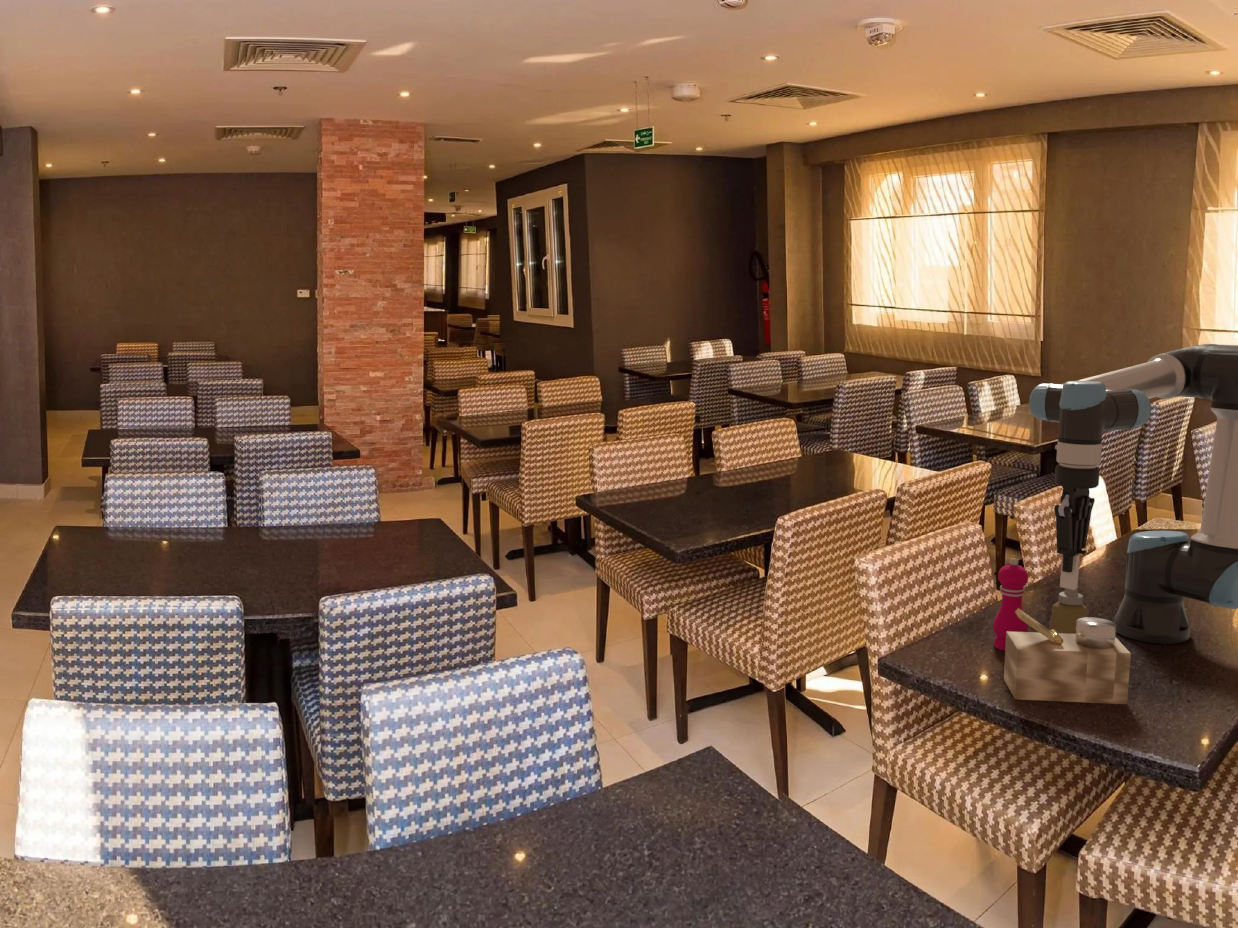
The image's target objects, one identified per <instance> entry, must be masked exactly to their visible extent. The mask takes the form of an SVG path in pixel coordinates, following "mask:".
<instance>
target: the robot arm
mask: <svg viewBox="0 0 1238 928" xmlns="http://www.w3.org/2000/svg"><path fill="white" fill-rule="evenodd" d="M1176 397H1181V398H1182V397H1183V398H1195V399H1203V400H1204V399H1205V400H1210V407H1209V408H1210V410H1211V412H1213V414H1214V415H1215V417H1216V423H1215V431H1214V437H1213V444H1212V451H1211V458H1210V464H1209V470H1208V476H1207V477H1208V478H1207V482H1206V483H1207V485H1206V491H1205V497H1204V502H1203V503H1204V504H1203V510H1202V516H1201V524H1200V529H1199V531H1197V532H1196V533H1194V534H1193V535H1191V537H1190V538H1189V535H1188V533H1186V532H1184V531H1175V530H1147V531H1146V530H1145V531H1139V532H1135V533H1134V534H1131V536H1130V537H1129V540H1128V544H1127V545H1128V546H1127V550H1126V554H1127V555H1126V568H1125V569H1126V570H1125V584H1124V585H1125V586H1124V597H1123V599H1122V601H1121V604H1120V605H1119V607H1118V610H1117V612H1116V614H1115V616H1114V620H1113V622H1114V623H1115V624H1116V631H1115V633H1118V634H1119V635H1121V636H1123V637H1125V638H1128V639H1130V640H1135V641H1140V642H1145V643H1151V644H1163V645H1164V644H1167V645H1168V644H1169V645H1171V644H1181V643H1184V642H1186V641H1189V639H1190V635H1191V626H1190V624H1189V619H1188V615H1187V612H1186V608H1185V604H1184V598H1187V599H1192V600H1194V601H1198V602H1202V603H1206V604H1210V605H1211V606H1213V607H1214V608H1215V607H1216V608H1217V607H1219V608H1220V607H1221V608H1224V609H1229V610H1238V344H1237V345H1236V344H1216V343H1207V344H1196V345H1192V346H1186V347H1183V348H1182V347H1181V348H1178V349H1174V350H1170V351H1166V352H1164V353H1159V354H1156V355H1153V356H1151V357H1150V358H1149V359H1148V360H1147V362H1144V363H1140V364H1136V365H1133V366H1129V367H1124V368H1121V369H1117V370H1113V371H1109V372H1105V373H1101V374H1098V375H1095V376H1089V377H1085V378H1082V379H1078V380H1069V381H1066V382H1064V383H1061V384H1060V383H1055V382H1050V383H1039V384H1038V385H1036V386H1035V387H1034V388H1033V390H1032V391H1031V393H1030V394H1029V399H1028V400H1029V401H1028V405H1029V411H1030V413H1031V415H1032V416H1033V417H1034V418H1036V419H1037V420H1042V421H1047V422H1048V423H1058V435H1057V444H1055V447H1054V449H1055V450H1056V458H1055V459H1056V460H1055V461H1056V463H1058V464H1057V465H1055V469H1054V470H1055V471H1054V483H1055V484H1056V486H1059V487H1062V493H1061V495H1060V502H1059V503H1060V504H1055V505H1054V507H1053V508H1054V509H1053V510H1054V515H1055V526H1056V529H1055V530H1056V554H1061V565H1060V566H1061V567H1060V580H1059V581H1060V582H1059V588H1064V589H1066V588H1067V589H1072V590H1075V589H1077V590H1078V585H1079V583H1078V582H1079V574H1080V573H1079V571H1080V557H1081V555H1086V552H1087V551H1086V550H1083V549H1086V547H1087V541H1088V536H1089V535H1088V534H1089V528H1090V523H1091V516H1092V513H1093V512H1092V511H1093V507H1094V504H1095V502H1096V501H1095V497H1090V489H1095V488H1097V487H1098V486H1099V482H1100V471H1101V469H1100V468H1099V465H1100V464H1101V462H1102V450H1103V432H1108V431H1110V432H1111V431H1120V430H1125V431H1129V430H1132V429H1137V428H1139V427H1140V428H1141V427H1142V426H1144V425H1145V424H1146V423H1147V421H1148V420H1149V418H1150V417H1151V412H1152V404H1151V401H1150V399H1153V398H1159V399H1172V398H1176Z"/></svg>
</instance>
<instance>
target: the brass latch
mask: <svg viewBox="0 0 1238 928" xmlns="http://www.w3.org/2000/svg"><path fill="white" fill-rule="evenodd" d="M1022 610H1023V609H1022ZM1022 610H1020V609H1019V608H1018V609H1017V610H1016V611H1015V613H1016V614H1017V616H1018V617H1019V618H1020V619H1021V620H1022V621H1024V622H1025V623H1027V624H1028V627H1029V626H1030V627H1031V628H1033V629H1034V630H1035V631H1036V632H1037V633H1041V634H1042V635H1044V636H1045V637H1047V638H1048V639H1049V640H1051V641H1052V642H1054V643H1055V644H1056V645H1061V644H1062V643H1063V639H1062V637H1061V636H1060V635H1059V634H1058V632H1057V631H1056V630H1054V629H1052V630H1049V628H1047V627H1046V626H1045V625H1043V624H1042V623H1041V622H1039V621H1037V620H1036V619H1035V618H1033V617H1031V616H1030V615H1029V614H1027V613H1026V612H1024V611H1022Z"/></svg>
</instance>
